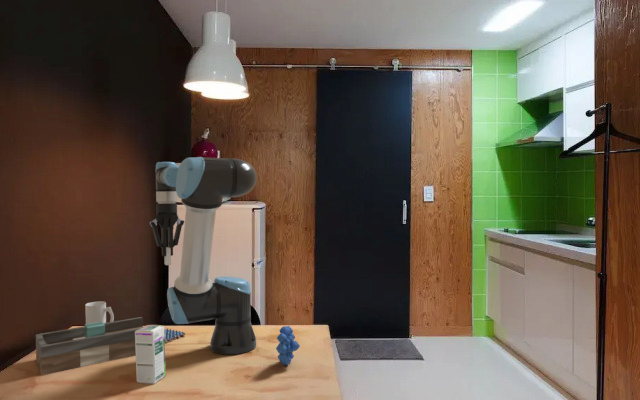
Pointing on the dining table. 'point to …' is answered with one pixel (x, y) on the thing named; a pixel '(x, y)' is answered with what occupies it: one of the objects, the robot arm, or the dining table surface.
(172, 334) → the woven mat
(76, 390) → the dining table surface
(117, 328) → the track
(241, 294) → the robot arm
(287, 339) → the grapes
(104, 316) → the mug
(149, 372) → the syrup box
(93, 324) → the block
